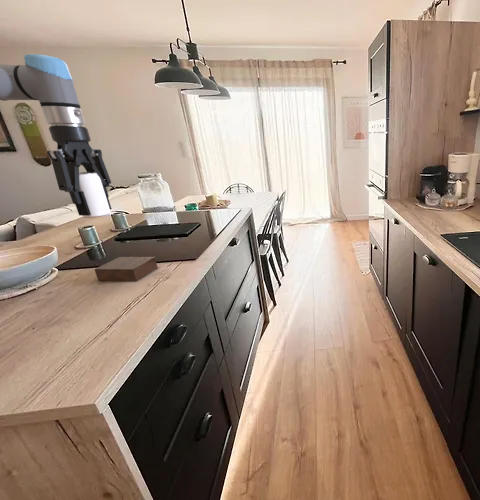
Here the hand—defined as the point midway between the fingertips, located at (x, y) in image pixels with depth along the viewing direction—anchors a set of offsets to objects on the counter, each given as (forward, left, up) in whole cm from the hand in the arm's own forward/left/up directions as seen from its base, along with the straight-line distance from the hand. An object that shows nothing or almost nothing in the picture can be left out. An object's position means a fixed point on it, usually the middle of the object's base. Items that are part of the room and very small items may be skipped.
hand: (96, 212), depth 83 cm
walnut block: (+2, +2, -21) cm, 21 cm away
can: (0, 0, -1) cm, 1 cm away
